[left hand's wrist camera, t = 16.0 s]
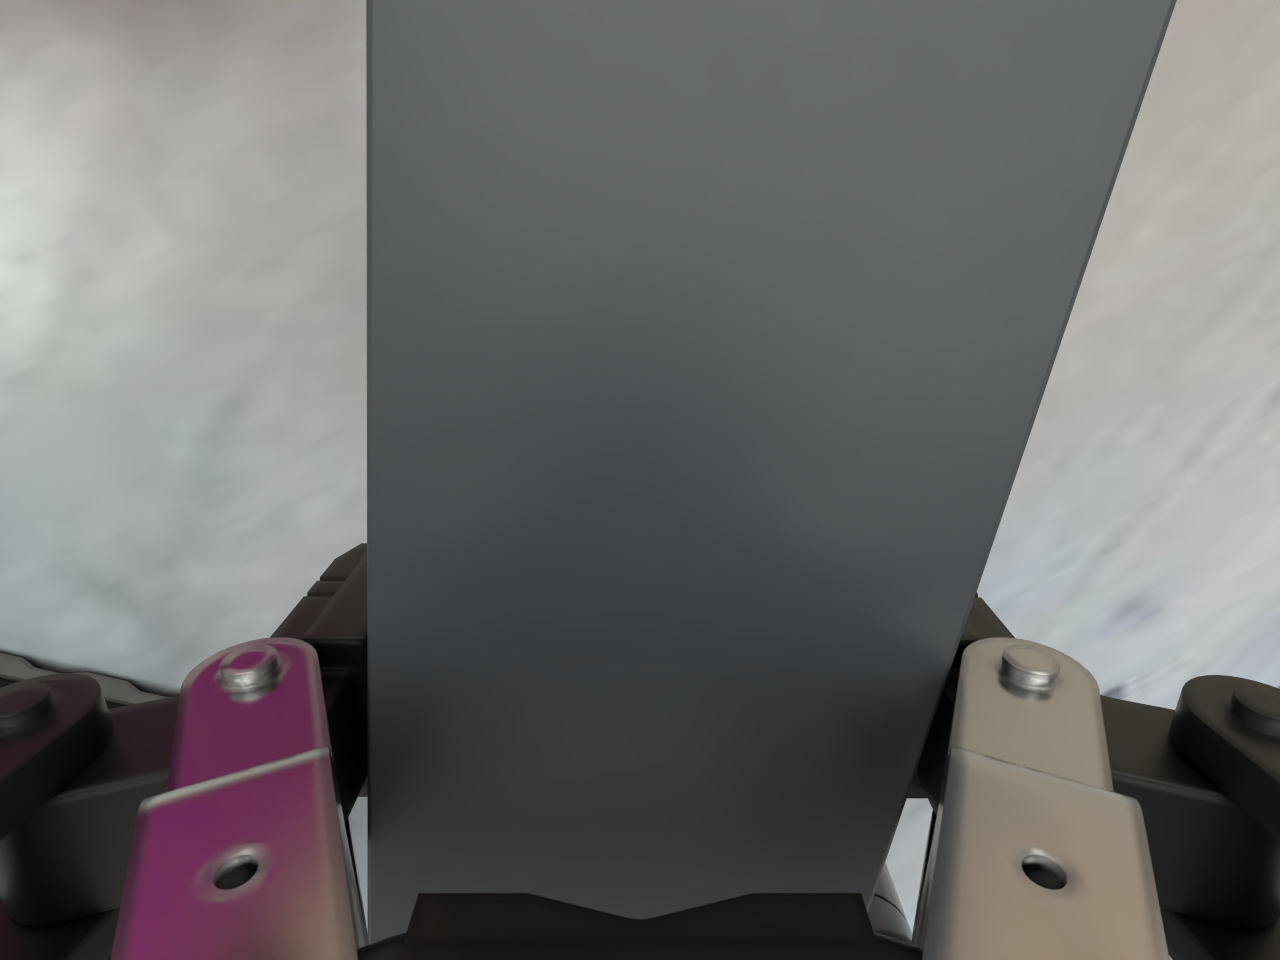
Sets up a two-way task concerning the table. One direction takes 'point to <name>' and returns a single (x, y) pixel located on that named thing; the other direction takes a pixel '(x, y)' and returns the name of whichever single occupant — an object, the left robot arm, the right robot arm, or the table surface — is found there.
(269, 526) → the table surface
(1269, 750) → the left robot arm
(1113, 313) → the table surface
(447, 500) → the box
